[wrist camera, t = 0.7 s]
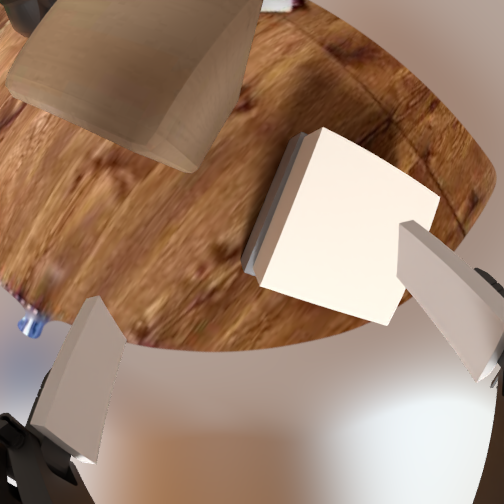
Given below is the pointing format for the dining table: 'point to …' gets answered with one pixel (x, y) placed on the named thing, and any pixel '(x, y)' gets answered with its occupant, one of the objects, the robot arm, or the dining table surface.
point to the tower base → (270, 203)
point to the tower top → (342, 229)
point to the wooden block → (140, 71)
